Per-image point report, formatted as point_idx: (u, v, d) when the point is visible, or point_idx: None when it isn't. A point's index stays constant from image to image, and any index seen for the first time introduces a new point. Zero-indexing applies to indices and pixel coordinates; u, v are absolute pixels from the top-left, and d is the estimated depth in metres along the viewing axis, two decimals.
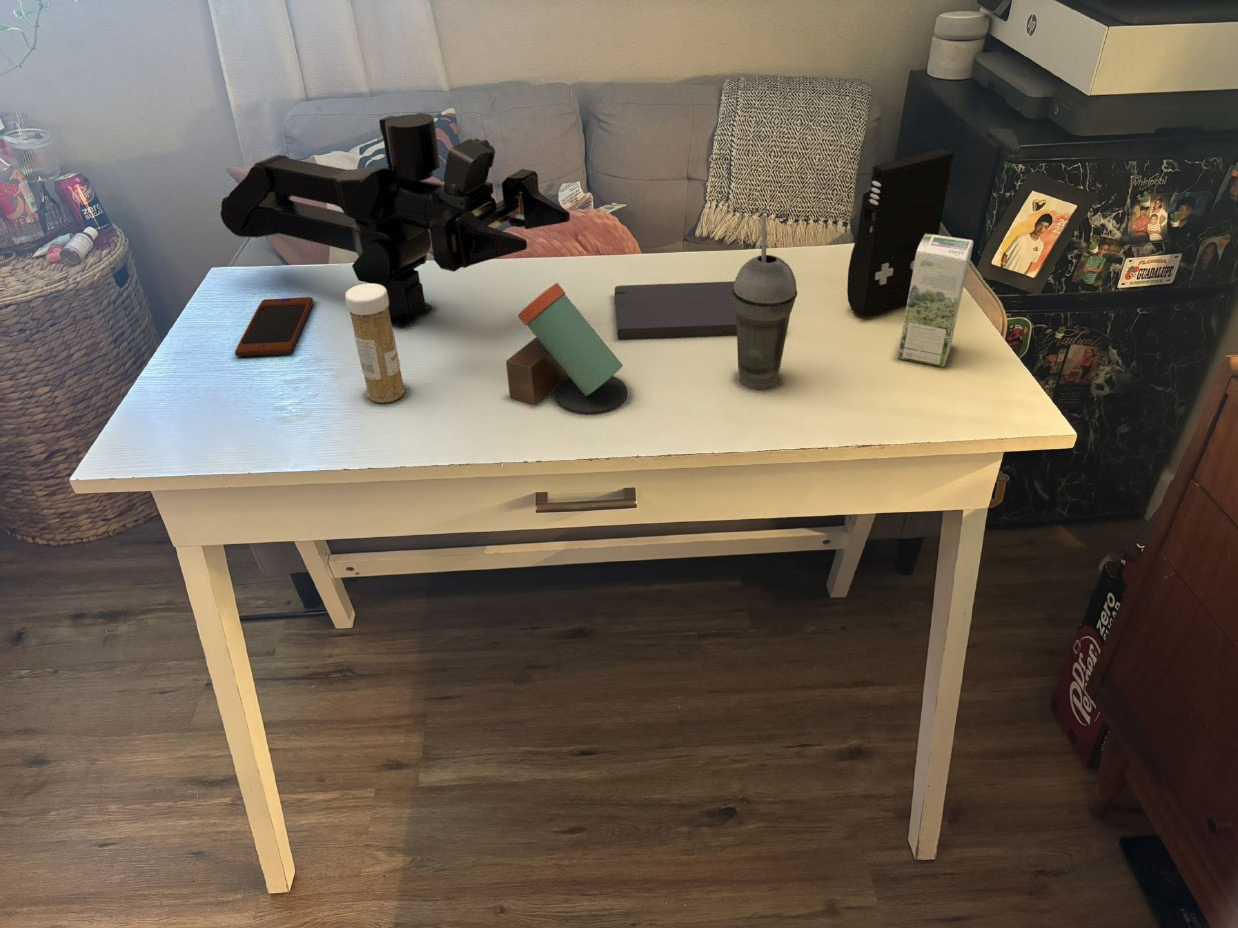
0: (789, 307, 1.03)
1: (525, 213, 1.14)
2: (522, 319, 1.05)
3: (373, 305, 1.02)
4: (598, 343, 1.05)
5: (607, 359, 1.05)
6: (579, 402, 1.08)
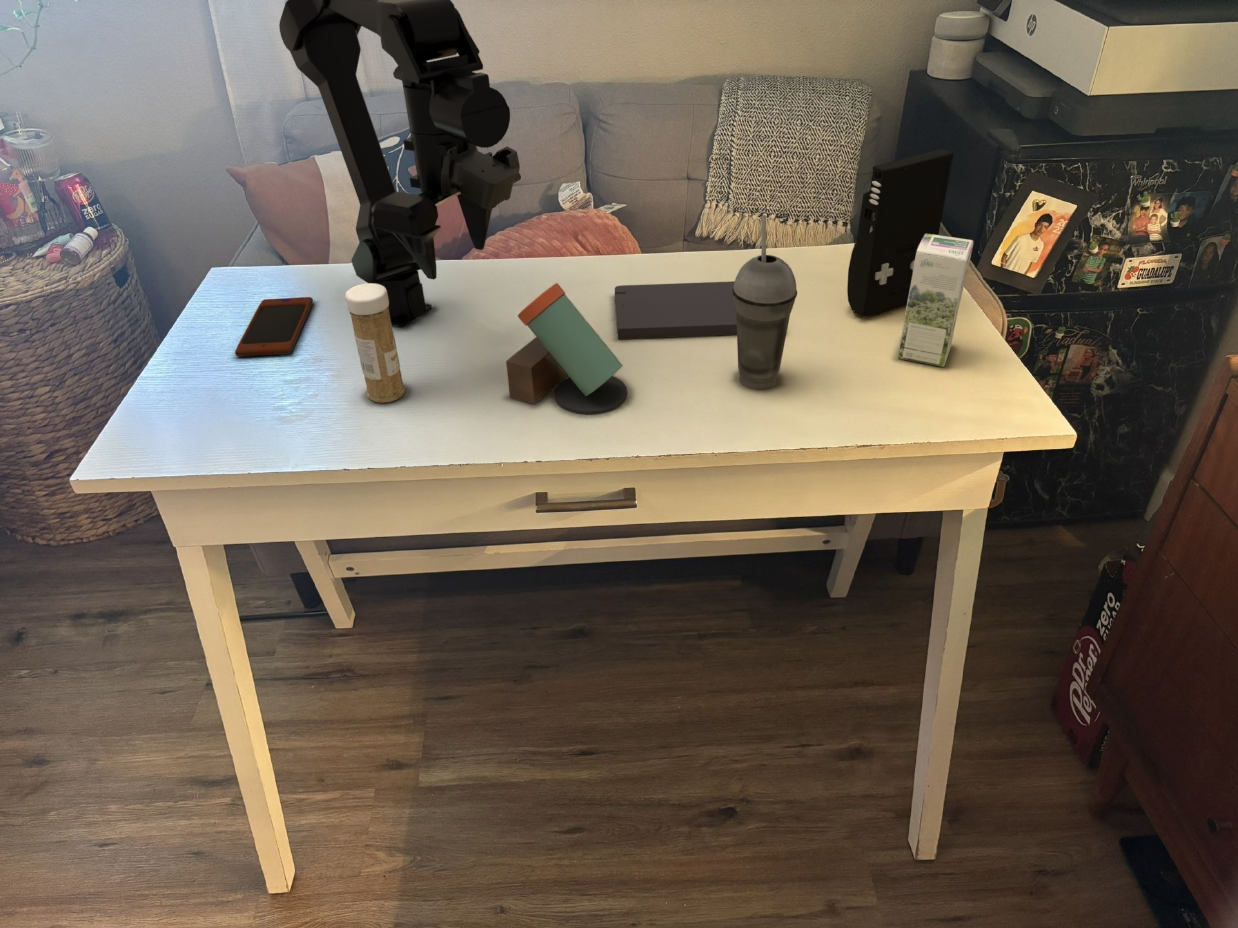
0: (789, 307, 1.03)
1: None
2: (522, 319, 1.05)
3: (373, 305, 1.02)
4: (598, 343, 1.05)
5: (607, 359, 1.05)
6: (579, 402, 1.08)
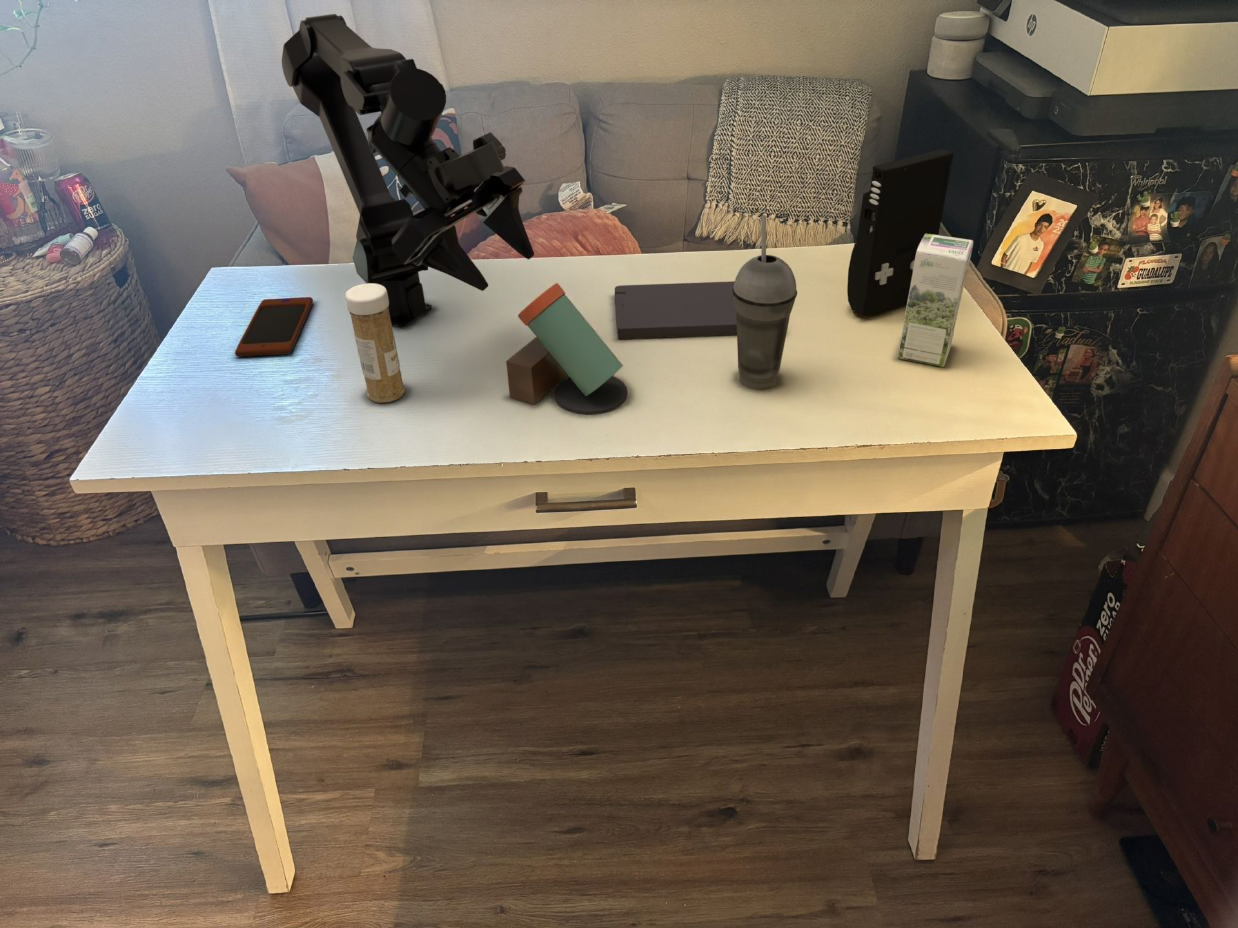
0: (789, 307, 1.03)
1: (493, 214, 1.09)
2: (522, 319, 1.05)
3: (373, 305, 1.02)
4: (598, 343, 1.05)
5: (607, 359, 1.05)
6: (579, 402, 1.08)
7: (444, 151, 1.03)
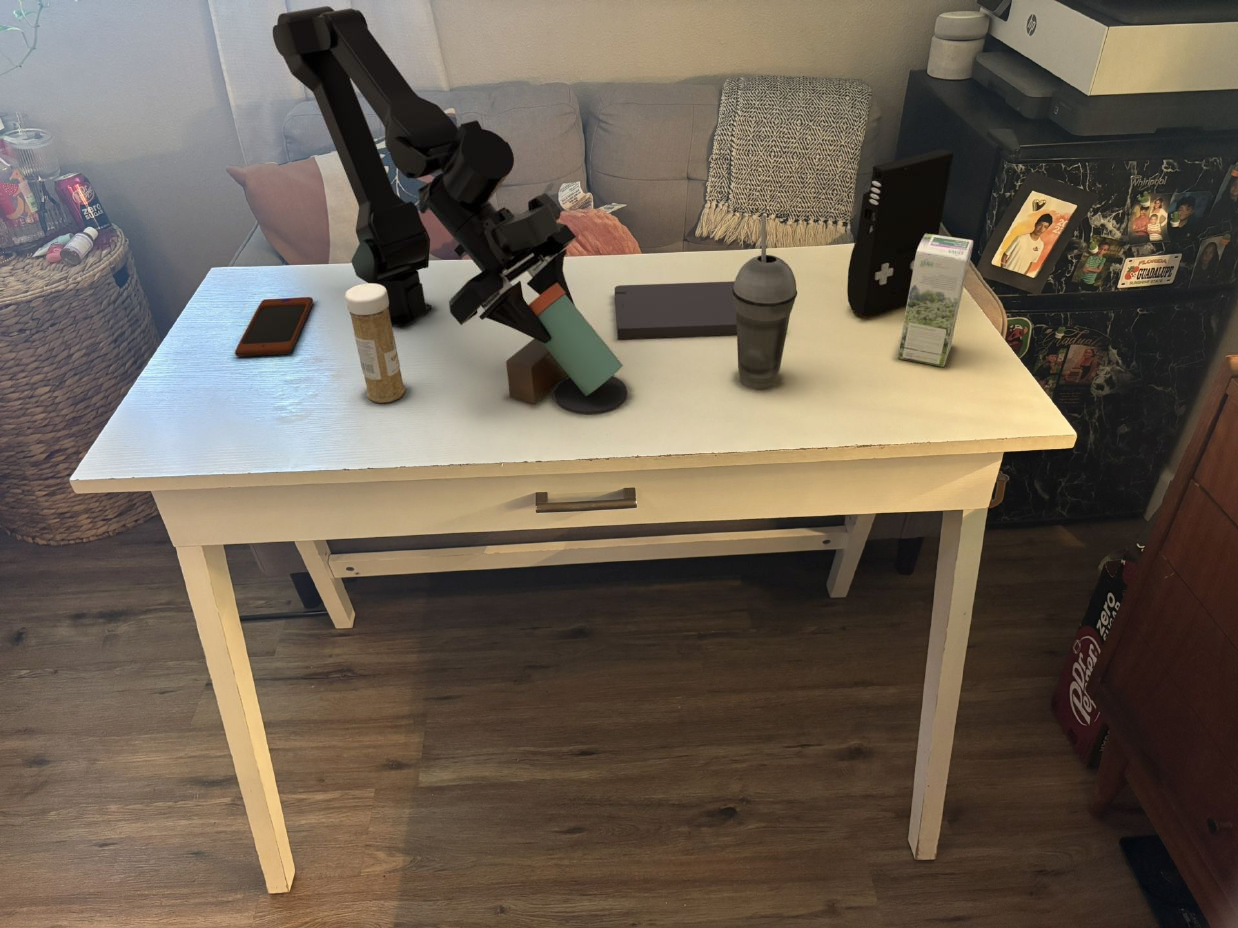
0: (789, 307, 1.03)
1: (537, 276, 1.09)
2: None
3: (373, 305, 1.02)
4: (598, 343, 1.05)
5: (607, 359, 1.05)
6: (579, 402, 1.08)
7: (499, 211, 1.03)
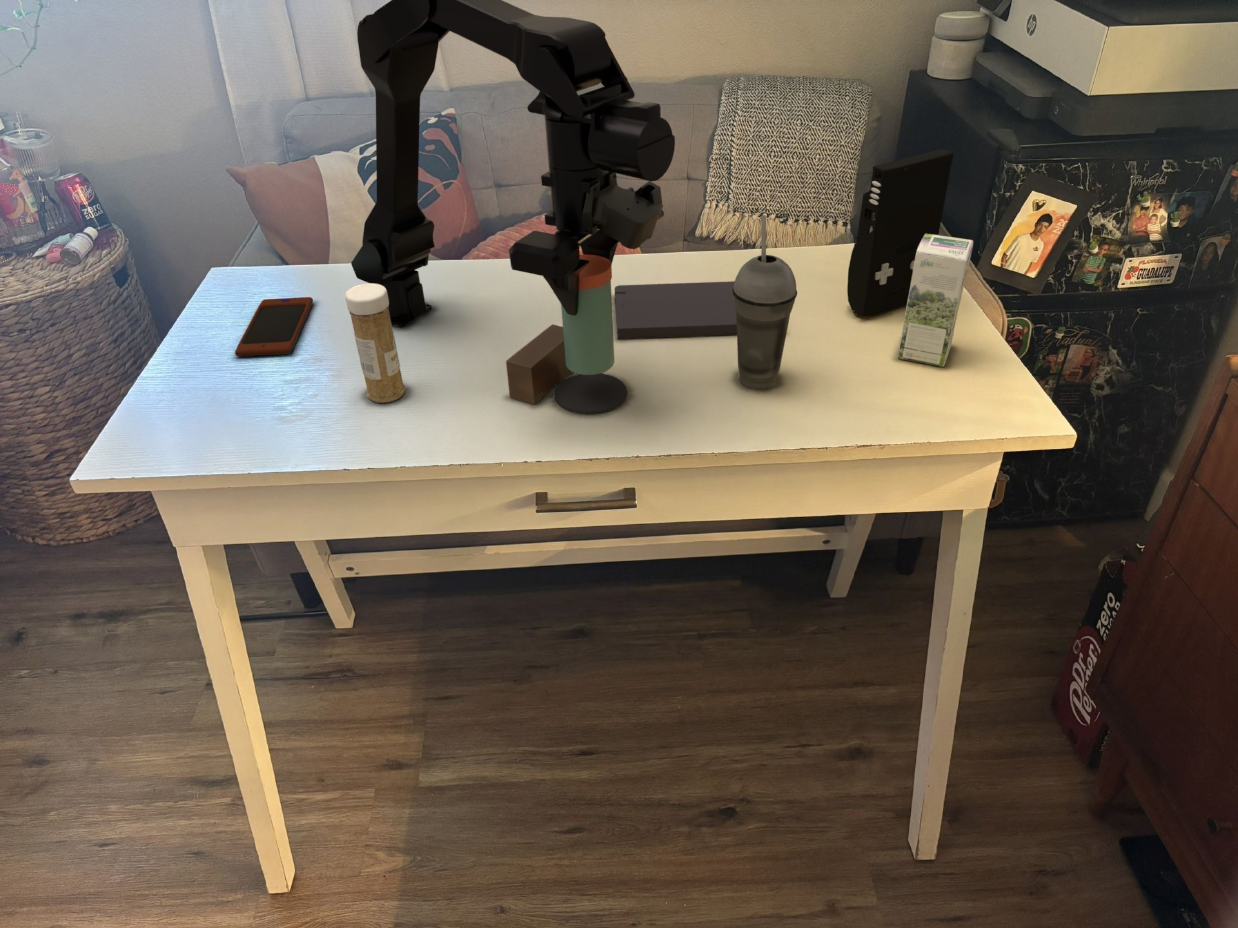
0: (789, 307, 1.03)
1: None
2: None
3: (373, 305, 1.02)
4: (610, 338, 1.04)
5: (609, 355, 1.05)
6: (579, 402, 1.08)
7: (608, 173, 0.94)
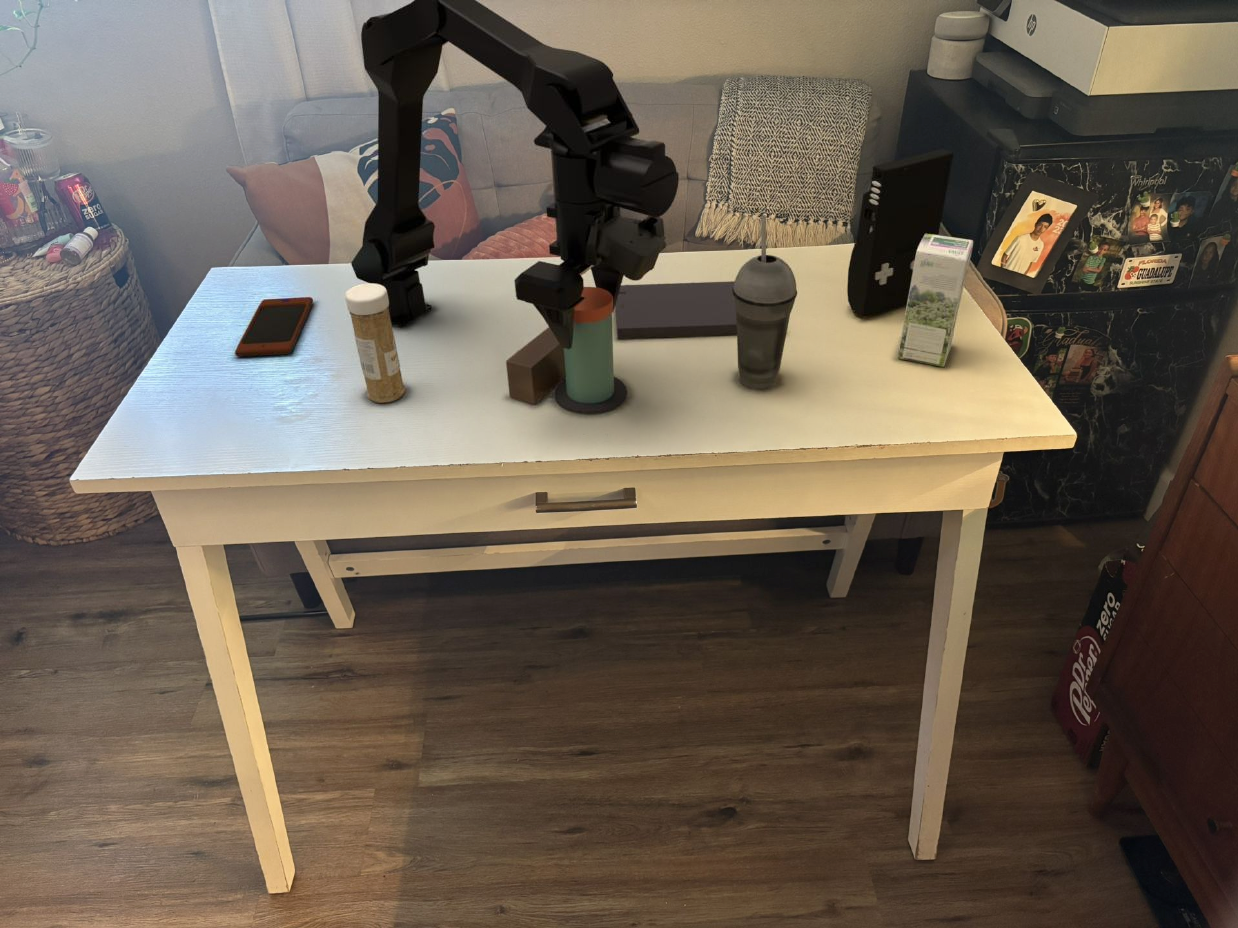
0: (789, 307, 1.03)
1: None
2: None
3: (373, 305, 1.02)
4: (610, 368, 1.06)
5: (609, 385, 1.07)
6: (579, 402, 1.08)
7: (612, 206, 0.96)
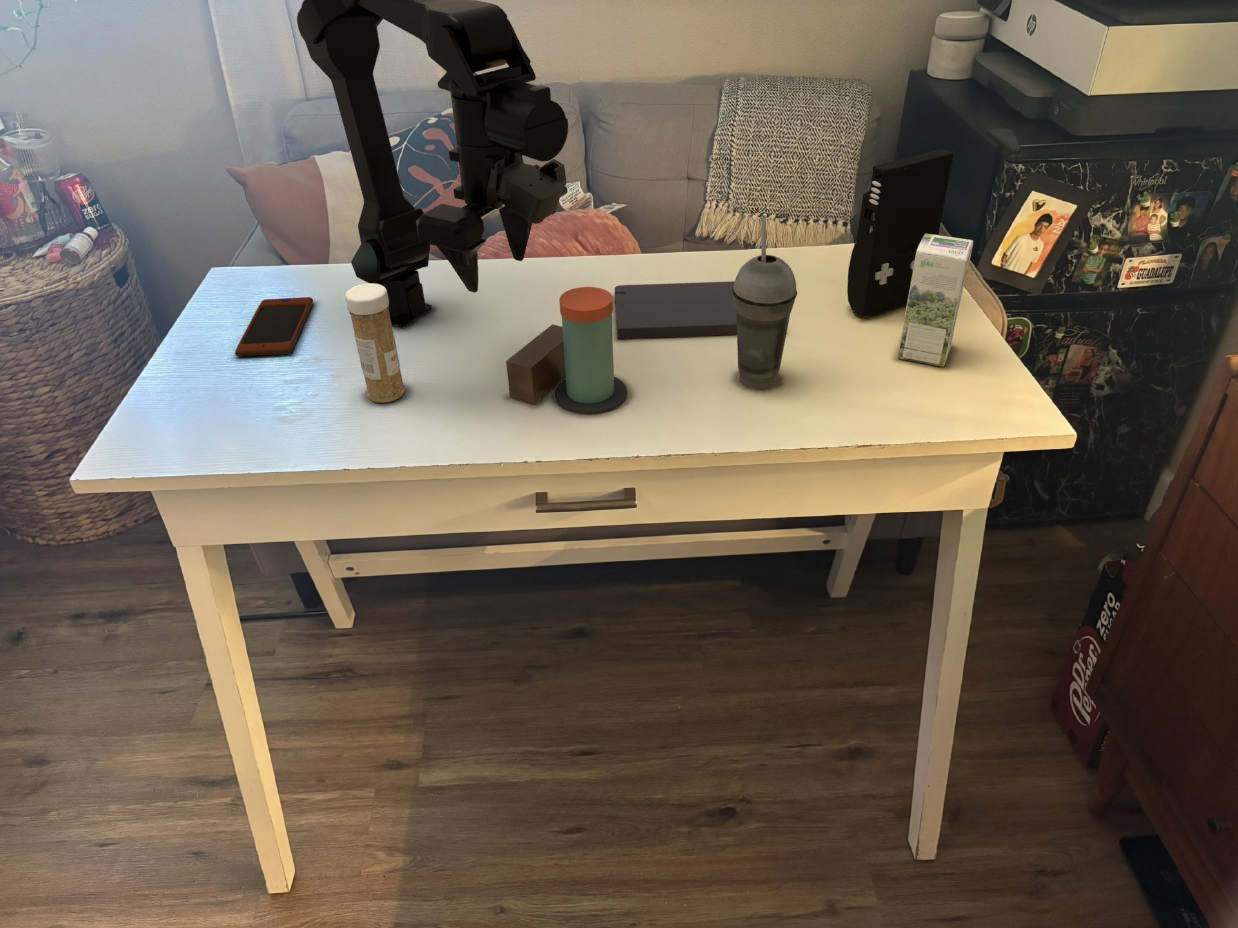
0: (789, 307, 1.03)
1: None
2: (563, 311, 1.02)
3: (373, 305, 1.02)
4: (610, 368, 1.06)
5: (609, 385, 1.07)
6: (579, 402, 1.08)
7: (513, 151, 0.98)
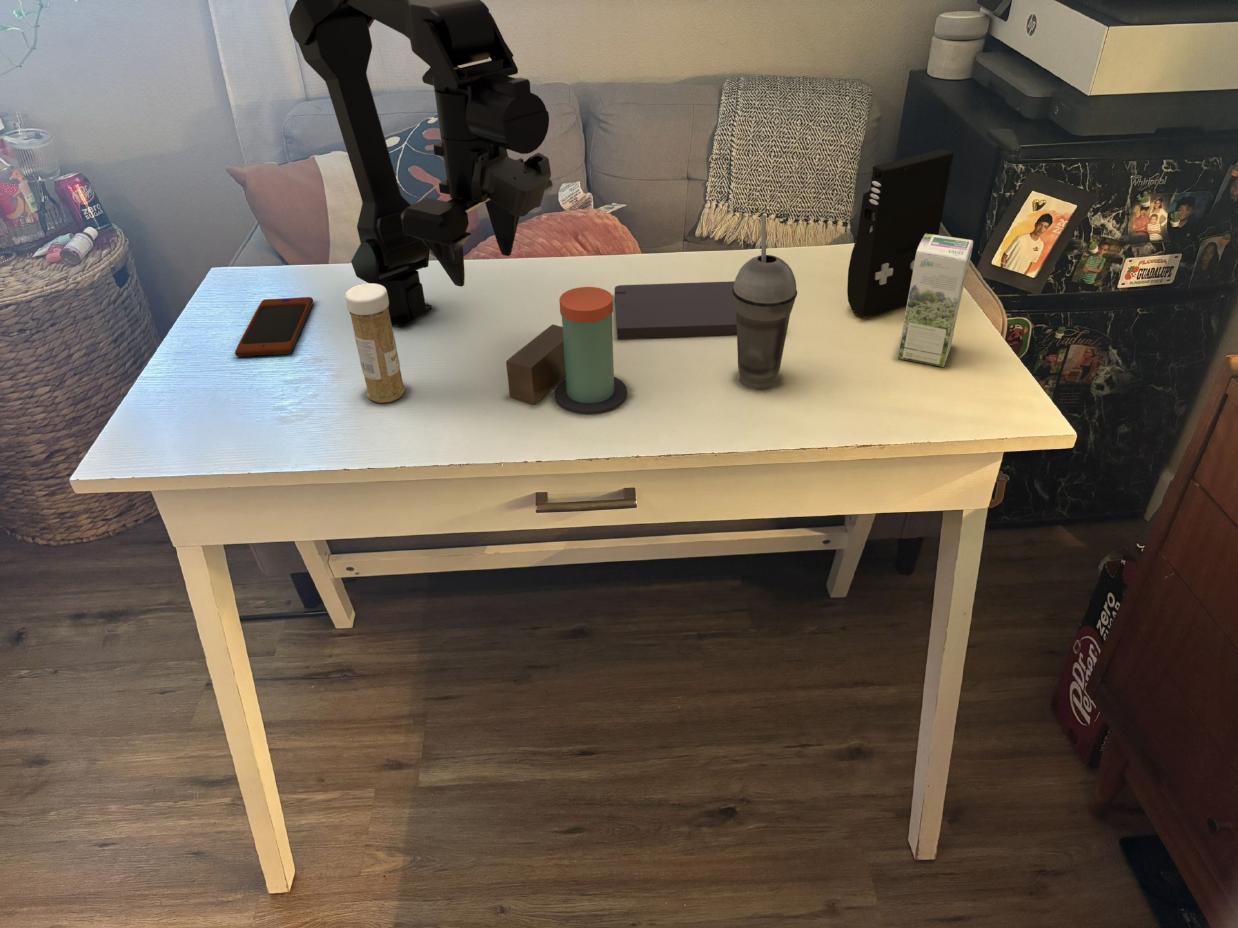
0: (789, 307, 1.03)
1: None
2: (563, 311, 1.02)
3: (373, 305, 1.02)
4: (610, 368, 1.06)
5: (609, 385, 1.07)
6: (579, 402, 1.08)
7: (497, 144, 0.99)
